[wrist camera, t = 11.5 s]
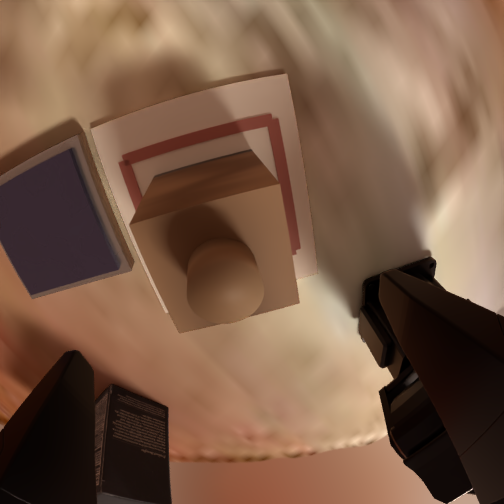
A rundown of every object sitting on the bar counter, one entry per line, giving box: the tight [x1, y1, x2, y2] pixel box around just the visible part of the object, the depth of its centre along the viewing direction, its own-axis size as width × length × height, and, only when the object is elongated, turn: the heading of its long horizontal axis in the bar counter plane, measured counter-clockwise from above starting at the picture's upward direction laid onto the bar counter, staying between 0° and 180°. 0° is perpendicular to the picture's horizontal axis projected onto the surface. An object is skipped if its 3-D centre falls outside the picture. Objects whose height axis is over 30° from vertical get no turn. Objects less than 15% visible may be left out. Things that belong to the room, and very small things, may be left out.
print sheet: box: [91, 74, 318, 313], centre depth 16 cm, size 10×12×1 cm
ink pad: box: [0, 132, 134, 299], centre depth 14 cm, size 8×8×1 cm
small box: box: [95, 384, 172, 504], centre depth 20 cm, size 11×6×10 cm, turn 137°
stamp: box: [129, 149, 300, 333], centre depth 13 cm, size 5×5×8 cm
